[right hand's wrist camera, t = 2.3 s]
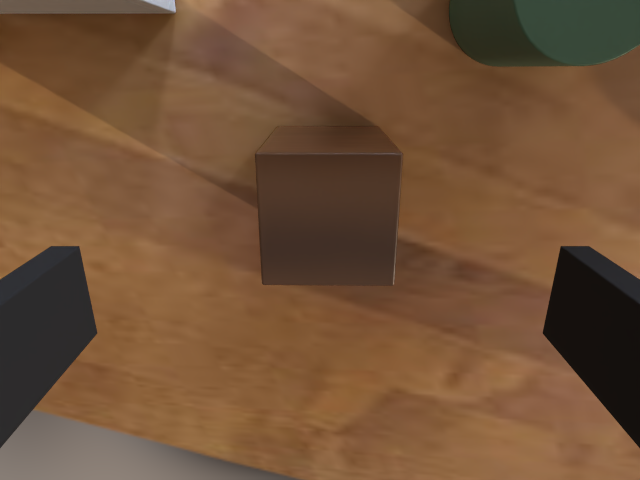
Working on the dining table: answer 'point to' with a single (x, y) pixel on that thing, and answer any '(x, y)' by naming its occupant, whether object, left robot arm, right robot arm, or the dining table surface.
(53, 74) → the dining table surface
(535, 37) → the dark green cylinder
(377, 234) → the walnut block
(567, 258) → the right robot arm
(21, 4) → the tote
